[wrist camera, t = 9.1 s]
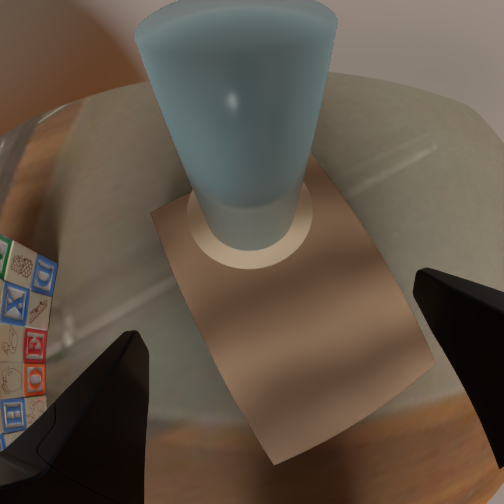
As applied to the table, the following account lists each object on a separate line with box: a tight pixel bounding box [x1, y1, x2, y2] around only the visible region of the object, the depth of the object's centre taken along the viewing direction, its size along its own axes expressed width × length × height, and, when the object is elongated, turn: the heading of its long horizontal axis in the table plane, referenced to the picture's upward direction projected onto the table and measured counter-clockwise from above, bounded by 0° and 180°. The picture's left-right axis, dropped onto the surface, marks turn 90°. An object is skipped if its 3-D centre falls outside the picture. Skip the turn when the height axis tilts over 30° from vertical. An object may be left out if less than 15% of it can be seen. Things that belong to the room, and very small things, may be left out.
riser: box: [150, 153, 436, 465], centre depth 17 cm, size 19×12×3 cm, turn 27°
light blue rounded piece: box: [134, 0, 337, 251], centre depth 11 cm, size 6×6×12 cm
